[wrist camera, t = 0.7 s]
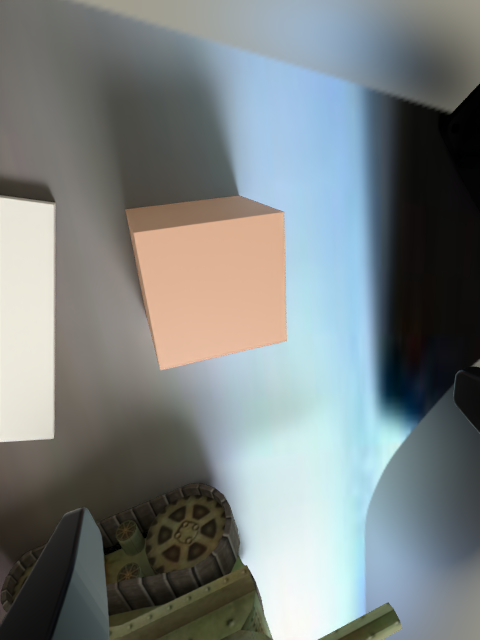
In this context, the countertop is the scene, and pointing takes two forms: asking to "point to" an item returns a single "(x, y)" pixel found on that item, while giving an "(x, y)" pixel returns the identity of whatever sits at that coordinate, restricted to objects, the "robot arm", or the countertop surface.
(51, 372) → the board
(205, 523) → the toy
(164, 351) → the block
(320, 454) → the countertop surface
